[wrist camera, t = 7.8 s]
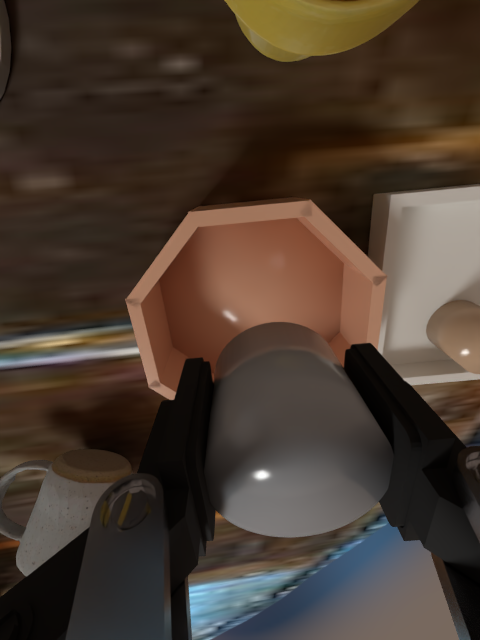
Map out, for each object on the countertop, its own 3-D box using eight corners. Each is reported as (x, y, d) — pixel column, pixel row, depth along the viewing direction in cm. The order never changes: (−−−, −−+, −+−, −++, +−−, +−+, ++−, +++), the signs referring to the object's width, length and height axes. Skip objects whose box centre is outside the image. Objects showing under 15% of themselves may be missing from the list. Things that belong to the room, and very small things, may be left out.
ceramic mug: (127, 445, 32) (147, 477, 25) (105, 524, 31) (120, 579, 24) (8, 441, 26) (-5, 481, 20) (-24, 538, 25) (-49, 614, 19)
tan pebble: (431, 302, 23) (468, 323, 20) (486, 297, 23) (533, 317, 20) (421, 349, 25) (454, 376, 22) (472, 344, 25) (513, 371, 21)
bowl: (134, 211, 20) (103, 219, 15) (357, 190, 20) (398, 190, 15) (174, 390, 27) (161, 436, 22) (343, 375, 27) (369, 419, 22)
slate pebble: (206, 327, 10) (189, 414, 6) (340, 316, 9) (408, 395, 6) (221, 429, 11) (215, 543, 8) (334, 419, 11) (383, 530, 8)
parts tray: (373, 193, 20) (391, 194, 18) (589, 173, 20) (635, 171, 18) (356, 371, 27) (368, 388, 24) (521, 357, 26) (549, 373, 24)
